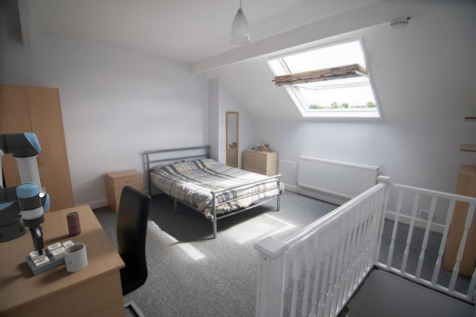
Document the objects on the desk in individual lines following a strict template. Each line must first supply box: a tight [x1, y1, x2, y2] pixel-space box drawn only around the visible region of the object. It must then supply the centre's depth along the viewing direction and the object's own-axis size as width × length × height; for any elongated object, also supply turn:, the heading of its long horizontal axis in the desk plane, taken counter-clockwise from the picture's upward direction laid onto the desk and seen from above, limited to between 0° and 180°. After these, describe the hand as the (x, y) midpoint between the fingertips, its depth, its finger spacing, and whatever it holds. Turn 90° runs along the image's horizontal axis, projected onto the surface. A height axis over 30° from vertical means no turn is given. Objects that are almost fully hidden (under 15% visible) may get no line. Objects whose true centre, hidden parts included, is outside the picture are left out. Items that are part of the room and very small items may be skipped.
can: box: [65, 211, 82, 237], centre depth 137 cm, size 6×6×14 cm
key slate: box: [28, 250, 46, 262], centre depth 113 cm, size 5×5×3 cm
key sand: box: [52, 247, 65, 260], centre depth 114 cm, size 5×5×3 cm
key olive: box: [47, 242, 62, 255], centre depth 118 cm, size 5×5×3 cm
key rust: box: [34, 256, 50, 268], centre depth 109 cm, size 5×5×3 cm
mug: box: [64, 243, 89, 273], centre depth 110 cm, size 12×9×10 cm
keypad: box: [24, 238, 77, 277], centre depth 116 cm, size 17×20×3 cm
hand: (41, 260), depth 108 cm, fingers closed
